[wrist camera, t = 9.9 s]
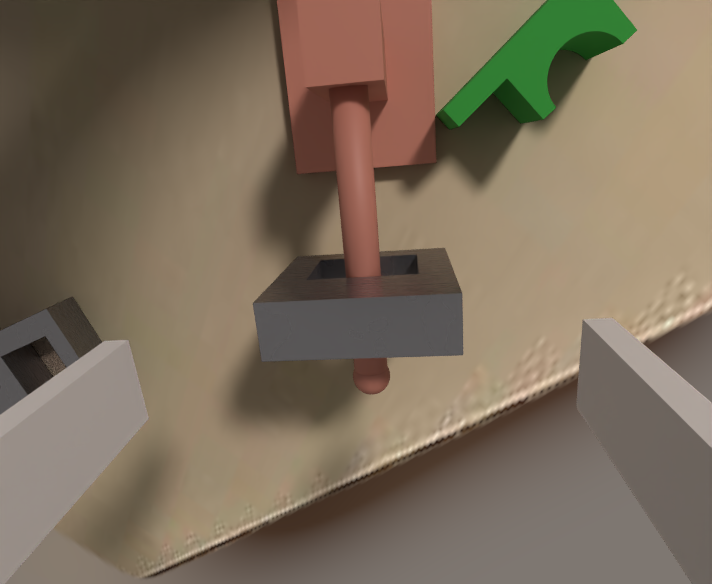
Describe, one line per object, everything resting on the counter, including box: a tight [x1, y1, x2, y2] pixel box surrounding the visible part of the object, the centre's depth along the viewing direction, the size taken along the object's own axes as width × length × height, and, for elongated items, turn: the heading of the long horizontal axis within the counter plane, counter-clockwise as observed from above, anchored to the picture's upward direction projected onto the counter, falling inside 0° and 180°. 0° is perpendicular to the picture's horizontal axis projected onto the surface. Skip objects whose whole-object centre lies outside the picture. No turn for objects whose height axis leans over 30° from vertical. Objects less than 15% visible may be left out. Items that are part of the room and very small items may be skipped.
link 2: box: [253, 248, 463, 362], centre depth 22 cm, size 2×8×8 cm, turn 95°
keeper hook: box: [277, 0, 436, 394], centre depth 23 cm, size 20×8×10 cm, turn 5°
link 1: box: [0, 297, 102, 415], centre depth 32 cm, size 8×8×2 cm
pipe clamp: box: [436, 0, 637, 129], centre depth 23 cm, size 11×4×5 cm, turn 136°
